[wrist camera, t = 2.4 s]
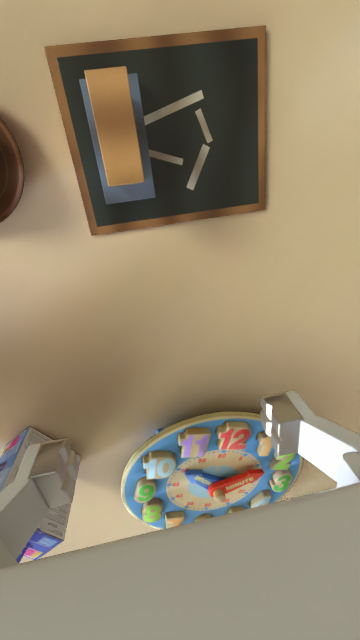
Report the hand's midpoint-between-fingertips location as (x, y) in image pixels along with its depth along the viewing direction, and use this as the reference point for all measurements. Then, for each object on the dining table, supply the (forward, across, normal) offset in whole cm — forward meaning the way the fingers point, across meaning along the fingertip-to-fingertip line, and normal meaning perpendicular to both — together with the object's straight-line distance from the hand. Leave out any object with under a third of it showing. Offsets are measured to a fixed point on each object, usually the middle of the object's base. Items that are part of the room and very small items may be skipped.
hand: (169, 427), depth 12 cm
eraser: (+25, 0, -12) cm, 28 cm away
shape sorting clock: (+24, -5, +37) cm, 45 cm away
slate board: (+25, -5, -12) cm, 29 cm away
